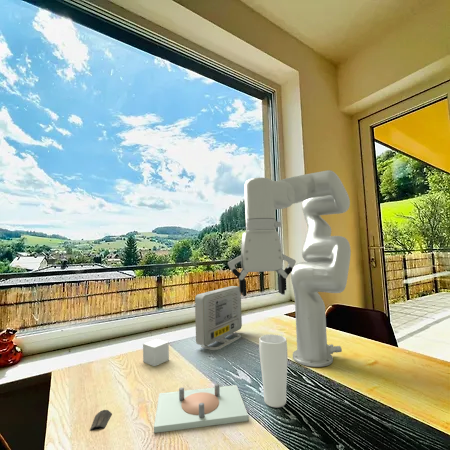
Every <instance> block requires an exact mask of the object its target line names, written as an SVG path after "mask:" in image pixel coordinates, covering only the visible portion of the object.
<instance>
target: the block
mask: <svg viewBox="0 0 450 450" xmlns="http://www.w3.org/2000/svg"><path fill="white" fill-rule="evenodd" d="M111 417H112V412H111V411H109V410H108V409H103V410H100V411H99V412H98V413H96V414H95V415H94V419H93V420H92V424H91V426H90V429H89V431H97V430H104V429H106V426H107V424H108V422H109V421H110V419H111Z"/></svg>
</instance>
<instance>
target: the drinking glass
mask: <svg viewBox="0 0 450 450" xmlns="http://www.w3.org/2000/svg"><path fill="white" fill-rule="evenodd" d="M258 341H259V342H258V346H259V347H258V350H259V351H258V352H259V361H260V372H261V377H262V378H261V382H262V387H263V389H262V390H263V401H264V403H265V404H266V405H267V406H268V407H270V408H271V407H272V408H282V407H284V406H285V405H286V403H287V382H288V381H287V379H288V378H287V377H288V342H287V341H288V340H287V338H286V337H285V336H284V335H280V334H264V335H261V336H260V337H259V338H258Z"/></svg>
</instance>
